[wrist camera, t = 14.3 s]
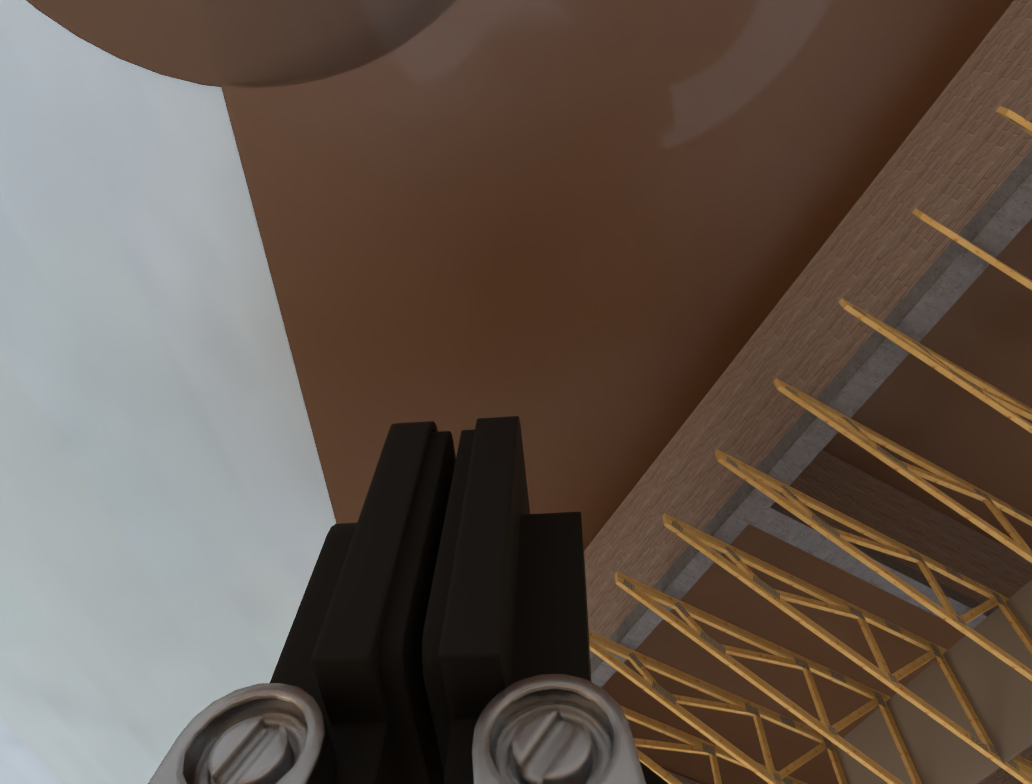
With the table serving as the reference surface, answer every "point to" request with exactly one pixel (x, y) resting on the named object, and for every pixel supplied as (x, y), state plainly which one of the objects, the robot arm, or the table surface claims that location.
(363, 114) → the brown flat board
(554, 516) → the robot arm
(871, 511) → the rafter model
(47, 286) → the table surface
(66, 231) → the table surface
